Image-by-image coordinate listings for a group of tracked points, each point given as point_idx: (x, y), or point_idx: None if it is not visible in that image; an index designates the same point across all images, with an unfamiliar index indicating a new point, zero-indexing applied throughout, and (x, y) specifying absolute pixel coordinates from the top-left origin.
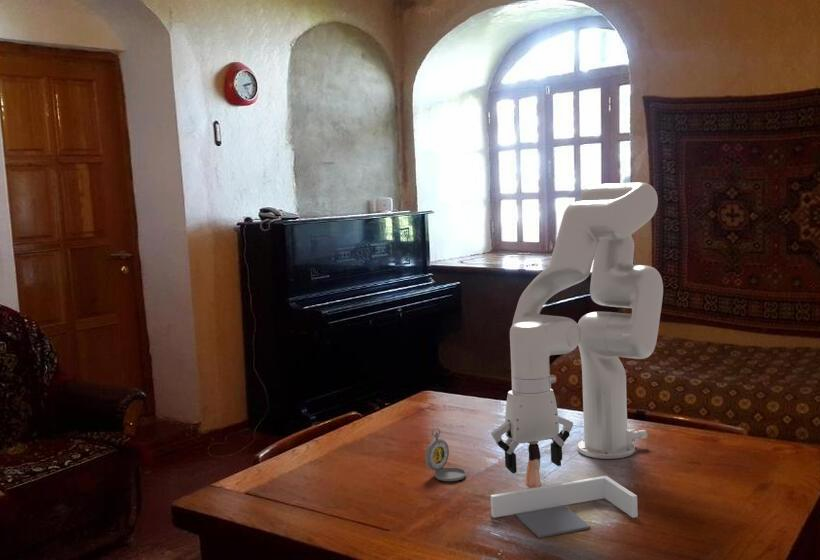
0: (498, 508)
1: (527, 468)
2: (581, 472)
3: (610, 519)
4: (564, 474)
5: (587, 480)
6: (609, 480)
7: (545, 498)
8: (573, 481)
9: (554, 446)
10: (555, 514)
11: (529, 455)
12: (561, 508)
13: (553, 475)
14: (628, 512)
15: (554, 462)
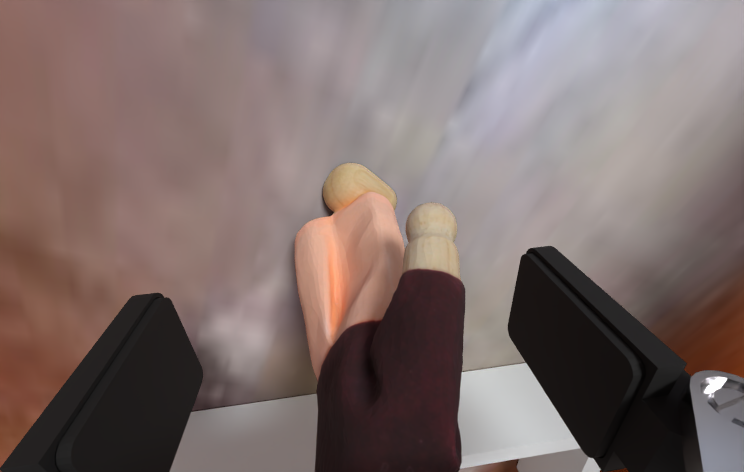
0: None
1: (304, 315)
2: (688, 95)
3: (463, 468)
4: (593, 90)
5: (522, 455)
6: (591, 462)
7: None
8: (465, 457)
9: (605, 430)
10: None
11: (317, 424)
12: None
13: (530, 82)
14: (522, 464)
15: (518, 304)
